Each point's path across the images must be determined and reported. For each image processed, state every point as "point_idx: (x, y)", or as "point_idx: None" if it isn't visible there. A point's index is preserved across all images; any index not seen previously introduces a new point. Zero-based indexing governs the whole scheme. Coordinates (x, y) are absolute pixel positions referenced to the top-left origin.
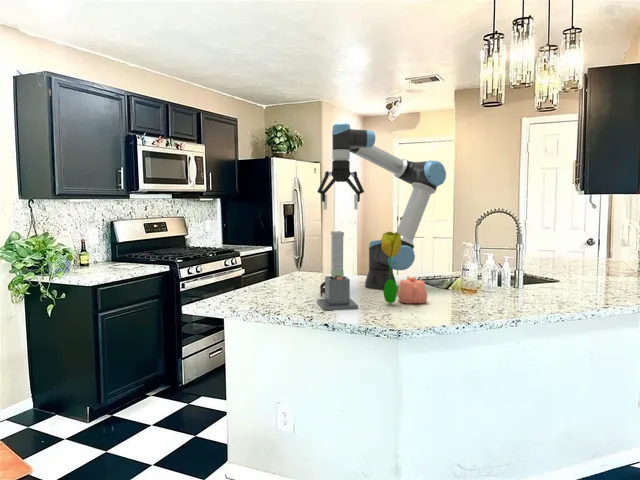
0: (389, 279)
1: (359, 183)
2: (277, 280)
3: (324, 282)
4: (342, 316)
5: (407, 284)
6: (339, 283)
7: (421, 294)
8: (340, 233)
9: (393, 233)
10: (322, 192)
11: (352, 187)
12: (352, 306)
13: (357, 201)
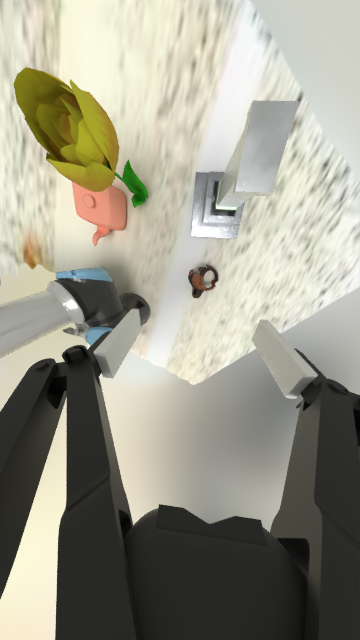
0: (131, 169)
1: None
2: (229, 360)
3: (209, 288)
4: (239, 113)
5: None
6: None
7: None
8: (267, 104)
9: (50, 161)
10: (347, 393)
11: (99, 407)
12: (205, 173)
13: (116, 326)
